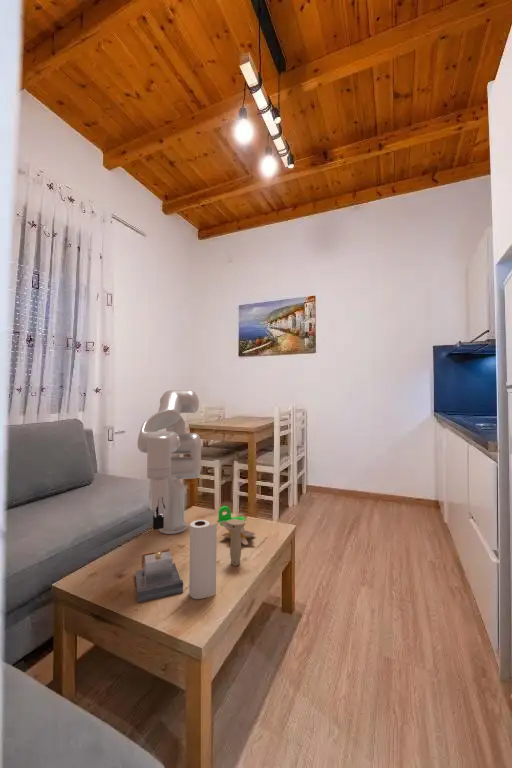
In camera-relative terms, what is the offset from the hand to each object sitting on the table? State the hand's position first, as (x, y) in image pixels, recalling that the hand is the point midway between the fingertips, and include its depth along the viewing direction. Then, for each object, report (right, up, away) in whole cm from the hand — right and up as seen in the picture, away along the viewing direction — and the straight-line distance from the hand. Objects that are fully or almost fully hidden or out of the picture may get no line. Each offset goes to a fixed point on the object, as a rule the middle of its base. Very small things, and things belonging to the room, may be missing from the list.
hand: (158, 528), depth 107 cm
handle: (+25, -17, +9) cm, 32 cm away
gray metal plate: (+1, -17, -3) cm, 17 cm away
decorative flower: (+26, -18, +27) cm, 42 cm away
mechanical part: (+21, -19, +46) cm, 54 cm away
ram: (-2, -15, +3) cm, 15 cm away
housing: (+1, -15, -3) cm, 15 cm away
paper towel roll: (+15, -17, -8) cm, 24 cm away
